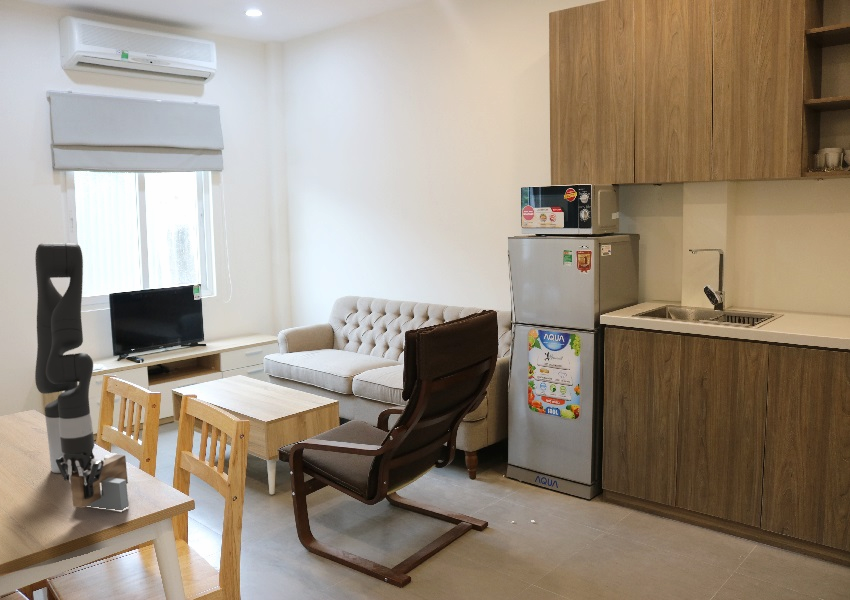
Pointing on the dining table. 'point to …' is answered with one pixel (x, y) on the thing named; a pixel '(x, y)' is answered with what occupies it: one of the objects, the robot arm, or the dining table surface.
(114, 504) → the grey notched block
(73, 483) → the walnut plate
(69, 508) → the dining table surface
